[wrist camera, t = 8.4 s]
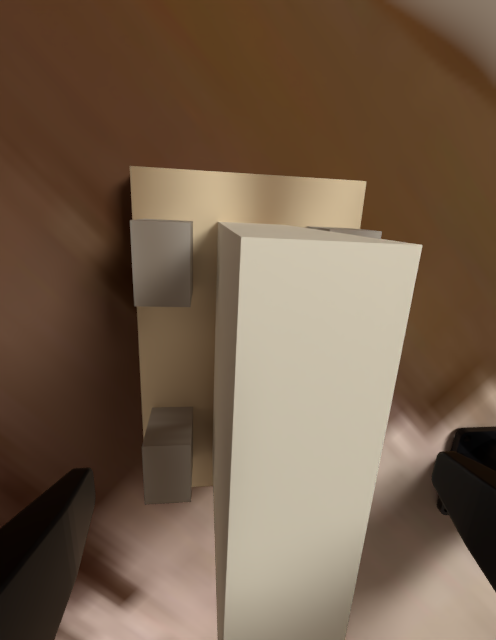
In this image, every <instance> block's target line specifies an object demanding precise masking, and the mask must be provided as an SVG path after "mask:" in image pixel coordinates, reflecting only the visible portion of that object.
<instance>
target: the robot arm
mask: <svg viewBox="0 0 496 640" xmlns="http://www.w3.org/2000/svg"><path fill="white" fill-rule="evenodd" d="M432 482H433V485H434V488H435V489H436V491H437V493H438V495H439V499H438V503H437V508H438V509H439V511H440V512H441V513H442V514H443V515H449V516H450V518H451V519H452V521H453V523H454V525H455V527H456V529H457V531H458V533H459V534H460V536H461V538H462V540H463V541H464V543H465V545H466V546H467V548H468V550H469V551H470V553H471V555H472V556H473V558H474V559H475V561H476V562H477V564H478V565H479V567H480V569H481V570H482V572H483V573H484V575H485V576H486V578H487V579H488V581H489V583H490V584H491V586H492V587H493V589H494V590H495V592H496V427H478V428H462V429H460V430H458V432H457V433H456V435H455V439H454V442H453V446H452V450H451V451H444V452H440V453H439V454H438V455H437V457H436V461H435V465H434V469H433V473H432ZM94 505H95V486H94V477H93V471H92V469H91V468H75V469H72V470H71V471H69V472H68V473H67V474H66V475H65V476H63V477H62V478H61V479H60V480H59V481H57V482H56V483H55V484H54V485H52V486H51V487H50V488H49V489H48V490H46V491H45V492H44V493H43V494H42V495H40V496H39V497H38V498H37V499H35V500H34V501H33V502H32V503H31V504H29V505H28V506H27V507H26V508H25V509H23V510H22V511H21V512H20V513H18V514H17V515H16V516H15V517H14V518H12V519H11V520H10V521H9V522H7V523H6V524H5V525H4V526H3V527H1V528H0V640H54V639H55V636H56V634H57V631H58V628H59V625H60V622H61V620H62V617H63V614H64V611H65V608H66V606H67V603H68V600H69V597H70V594H71V592H72V589H73V586H74V583H75V580H76V577H77V573H78V569H79V566H80V562H81V558H82V554H83V550H84V546H85V542H86V538H87V534H88V530H89V526H90V522H91V518H92V514H93V510H94Z"/></svg>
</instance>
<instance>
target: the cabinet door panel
mask: <svg viewBox="0 0 496 640" xmlns="http://www.w3.org/2000/svg"><path fill="white" fill-rule="evenodd" d="M421 250H422V245H418V244H411V243H405V242H398V241H391V240H384V239H378V238H371V237H364V236H357V235H351V234H344V233H337V232H330V231H324V230H317V229H310V228H303V227H296V226H290V225H277V224H257V223H237V222H218V239H217V280H216V322H215V363H214V404H213V446H212V463H213V497H214V530H215V564H216V597H217V631H218V640H345V636H346V631H347V626H348V621H349V616H350V611H351V606H352V601H353V596H354V591H355V585H356V580H357V575H358V570H359V565H360V560H361V555H362V550H363V545H364V540H365V535H366V529H367V524H368V519H369V514H370V509H371V504H372V499H373V494H374V489H375V484H376V479H377V474H378V468H379V463H380V458H381V453H382V448H383V443H384V438H385V433H386V428H387V423H388V418H389V412H390V407H391V402H392V397H393V392H394V387H395V382H396V377H397V372H398V367H399V362H400V357H401V351H402V346H403V341H404V336H405V331H406V326H407V321H408V316H409V311H410V306H411V301H412V296H413V290H414V285H415V280H416V275H417V270H418V265H419V260H420V255H421Z"/></svg>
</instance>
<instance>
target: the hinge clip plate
mask: <svg viewBox="0 0 496 640" xmlns="http://www.w3.org/2000/svg"><path fill="white" fill-rule="evenodd" d="M130 182H131V201H132V220H130V235H131V254H132V273H133V292H134V306H137V321H138V340H139V360H140V380H141V400H142V420H143V444H142V463H143V481H144V500H145V504H162V503H179V502H191V489H192V487H205V486H213V463H212V446H213V404H214V363H215V322H216V280H217V239H218V222H237V223H257V224H277V225H290V226H296V227H303V228H310V229H317V230H324V231H330V232H337V233H344V234H351V235H357V236H364V237H371V238H378V239H381V234H382V231H372V230H363V229H360V224H361V217H362V210H363V202H364V195H365V188H366V181H353V180H338V179H322V178H307V177H291V176H276V175H260V174H245V173H229V172H214V171H198V170H183V169H167V168H152V167H136V166H130Z"/></svg>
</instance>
